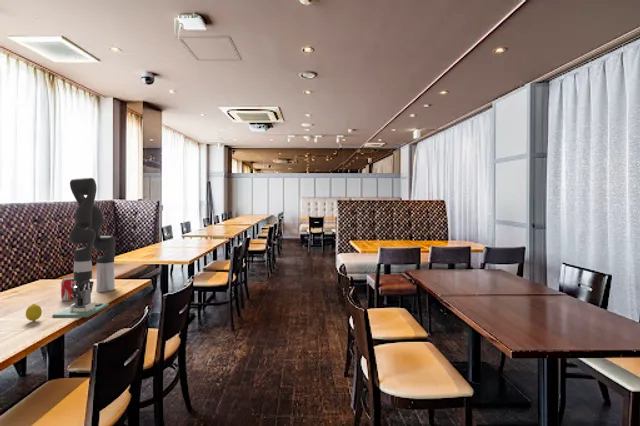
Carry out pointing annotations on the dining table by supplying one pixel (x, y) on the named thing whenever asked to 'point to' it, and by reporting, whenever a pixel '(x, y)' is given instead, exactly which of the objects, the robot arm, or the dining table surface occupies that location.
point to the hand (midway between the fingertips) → (83, 304)
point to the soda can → (67, 288)
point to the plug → (84, 298)
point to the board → (81, 310)
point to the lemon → (33, 312)
